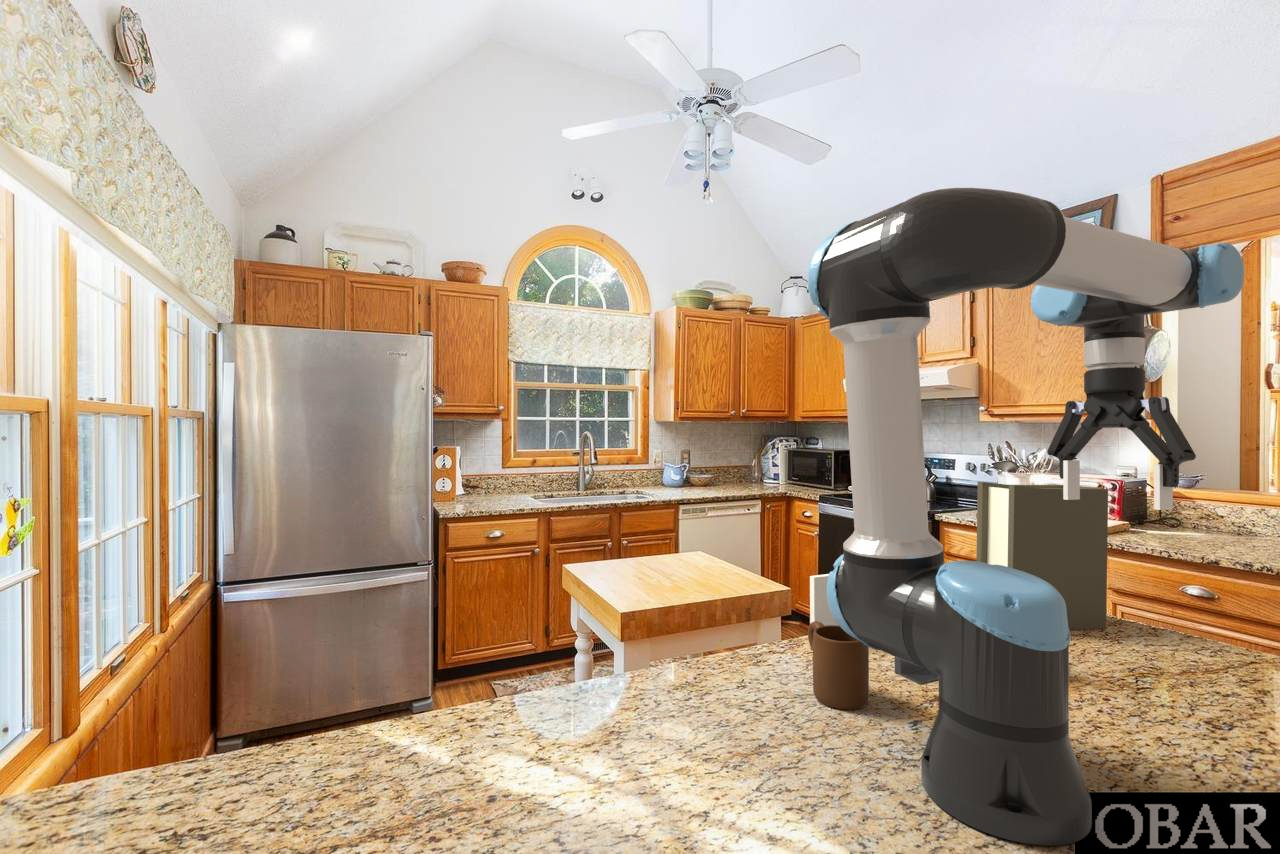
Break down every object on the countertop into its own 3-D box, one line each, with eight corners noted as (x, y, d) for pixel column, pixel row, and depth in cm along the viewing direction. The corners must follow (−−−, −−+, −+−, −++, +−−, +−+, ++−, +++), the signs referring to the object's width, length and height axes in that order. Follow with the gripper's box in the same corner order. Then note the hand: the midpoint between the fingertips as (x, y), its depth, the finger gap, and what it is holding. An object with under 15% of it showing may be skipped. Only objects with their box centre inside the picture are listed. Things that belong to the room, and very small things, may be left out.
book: (1067, 617, 125) (1069, 482, 125) (1109, 631, 115) (1111, 486, 116) (975, 620, 121) (977, 481, 121) (1011, 635, 112) (1014, 485, 112)
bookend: (919, 684, 91) (919, 644, 91) (894, 672, 95) (894, 634, 95) (975, 671, 95) (975, 633, 95) (949, 660, 100) (948, 624, 100)
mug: (788, 678, 93) (788, 617, 93) (832, 673, 95) (832, 614, 95) (831, 714, 81) (831, 644, 81) (880, 707, 83) (880, 639, 83)
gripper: (1227, 360, 83) (1228, 513, 83) (1055, 376, 107) (1056, 495, 107) (1190, 357, 81) (1191, 515, 81) (1023, 374, 105) (1023, 496, 104)
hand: (1114, 504), depth 94 cm, fingers open, 13 cm apart
